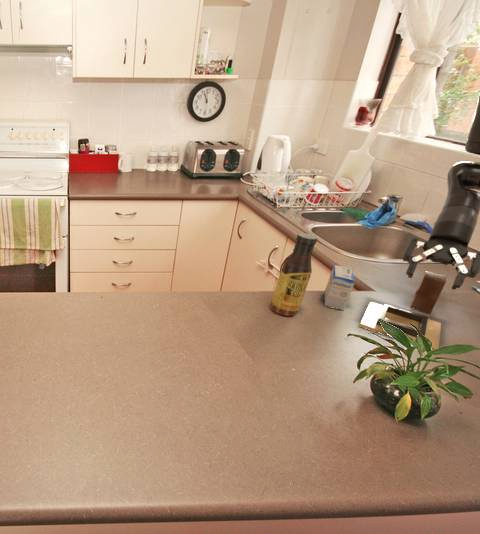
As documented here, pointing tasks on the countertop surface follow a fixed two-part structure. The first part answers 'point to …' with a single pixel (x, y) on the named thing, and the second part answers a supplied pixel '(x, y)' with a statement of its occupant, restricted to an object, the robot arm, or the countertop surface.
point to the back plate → (401, 322)
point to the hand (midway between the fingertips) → (431, 282)
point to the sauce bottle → (294, 277)
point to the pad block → (428, 292)
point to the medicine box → (339, 287)
